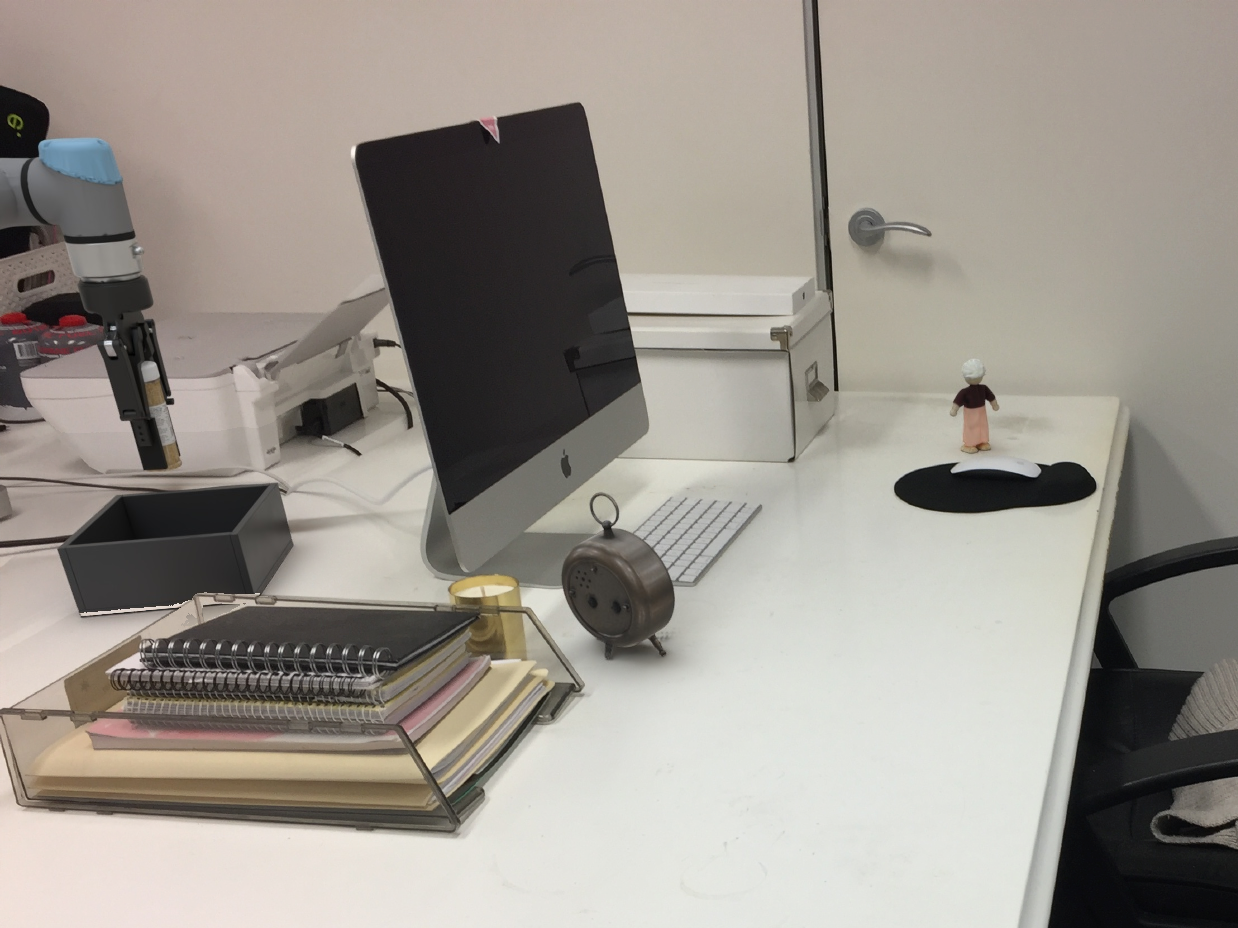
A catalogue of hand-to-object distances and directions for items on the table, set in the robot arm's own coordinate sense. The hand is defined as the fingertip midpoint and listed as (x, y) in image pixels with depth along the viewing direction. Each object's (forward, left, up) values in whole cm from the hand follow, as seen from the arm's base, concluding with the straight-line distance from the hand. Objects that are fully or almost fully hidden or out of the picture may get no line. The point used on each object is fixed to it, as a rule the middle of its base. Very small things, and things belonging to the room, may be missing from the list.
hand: (162, 462), depth 169 cm
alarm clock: (+59, -60, -6) cm, 84 cm away
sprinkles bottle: (0, 0, -1) cm, 1 cm away
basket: (+11, -29, -6) cm, 31 cm away
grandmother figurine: (+107, -4, -6) cm, 107 cm away
